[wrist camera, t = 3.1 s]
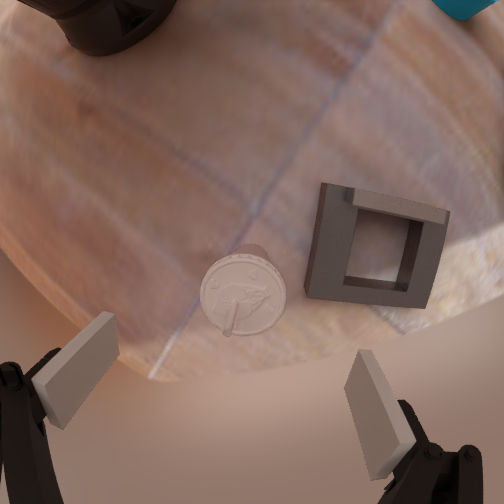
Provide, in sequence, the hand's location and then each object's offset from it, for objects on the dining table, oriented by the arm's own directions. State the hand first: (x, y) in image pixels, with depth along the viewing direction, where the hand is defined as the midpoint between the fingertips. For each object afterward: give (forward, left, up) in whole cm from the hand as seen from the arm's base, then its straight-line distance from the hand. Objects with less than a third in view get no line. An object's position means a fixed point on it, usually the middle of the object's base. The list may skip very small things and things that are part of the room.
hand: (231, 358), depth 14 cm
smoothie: (0, 0, -17) cm, 17 cm away
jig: (+13, +4, -17) cm, 21 cm away
